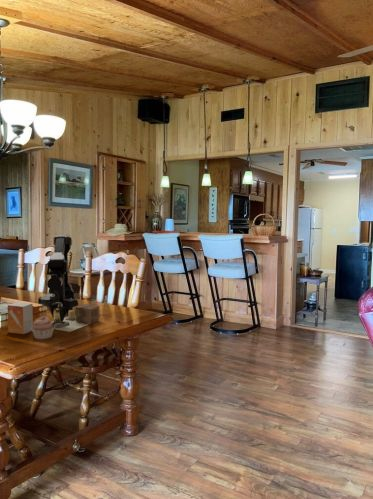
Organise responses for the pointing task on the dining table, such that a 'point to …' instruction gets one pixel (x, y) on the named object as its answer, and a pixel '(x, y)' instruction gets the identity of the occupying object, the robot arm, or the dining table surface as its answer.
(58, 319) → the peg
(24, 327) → the small box
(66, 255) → the robot arm
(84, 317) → the housing
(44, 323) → the cupcake
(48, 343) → the dining table surface
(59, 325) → the board
